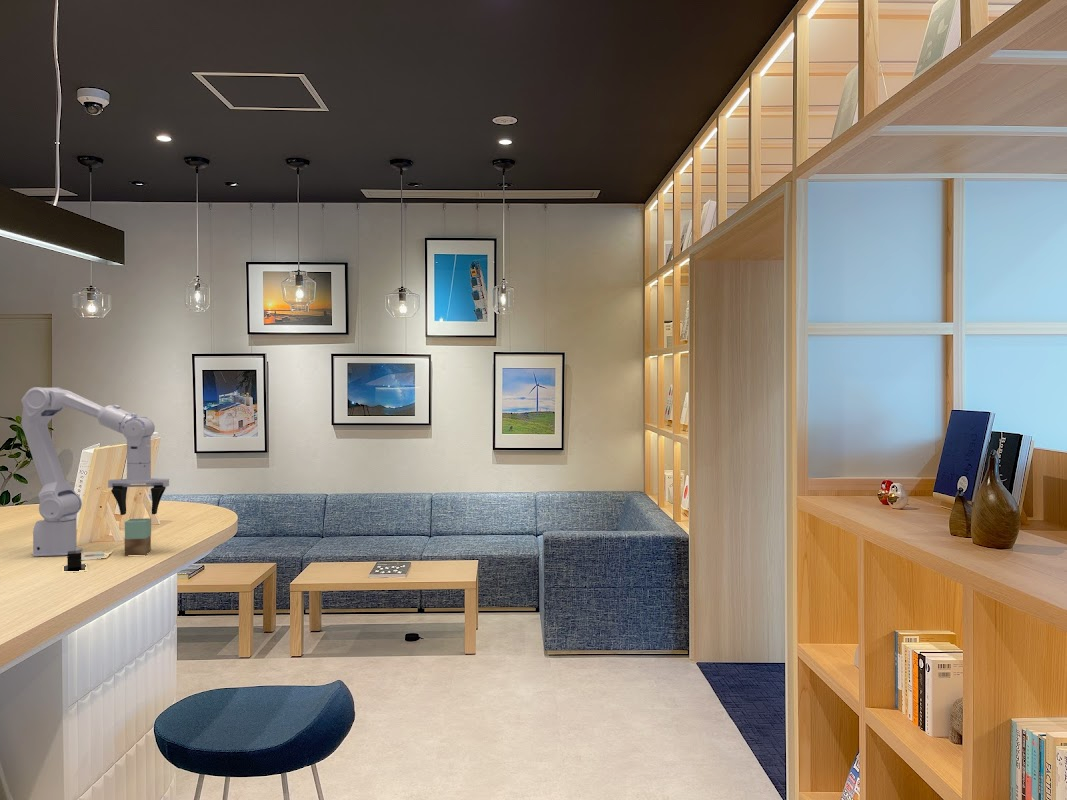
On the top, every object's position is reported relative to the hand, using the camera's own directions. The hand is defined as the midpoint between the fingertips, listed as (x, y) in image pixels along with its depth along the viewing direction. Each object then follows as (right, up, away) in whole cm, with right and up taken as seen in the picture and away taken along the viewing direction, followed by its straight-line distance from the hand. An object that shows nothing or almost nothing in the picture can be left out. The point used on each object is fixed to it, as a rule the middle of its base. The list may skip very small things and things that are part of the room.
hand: (138, 514), depth 207 cm
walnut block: (0, -11, -1) cm, 11 cm away
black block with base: (-7, -11, -17) cm, 22 cm away
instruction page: (-10, -10, -3) cm, 15 cm away
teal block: (0, -6, 0) cm, 6 cm away
